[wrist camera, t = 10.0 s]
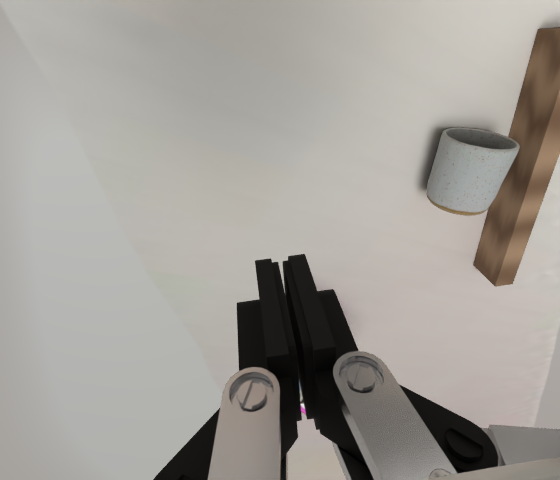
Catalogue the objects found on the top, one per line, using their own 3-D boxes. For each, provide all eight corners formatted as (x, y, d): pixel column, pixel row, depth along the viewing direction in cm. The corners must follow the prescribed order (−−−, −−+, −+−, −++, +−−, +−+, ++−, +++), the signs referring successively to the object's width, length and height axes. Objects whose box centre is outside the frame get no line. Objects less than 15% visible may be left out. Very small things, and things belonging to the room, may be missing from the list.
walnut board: (538, 29, 36) (579, 30, 32) (560, 27, 36) (604, 27, 32) (473, 265, 52) (495, 286, 48) (489, 262, 52) (512, 284, 48)
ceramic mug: (412, 192, 44) (445, 222, 38) (429, 126, 40) (469, 146, 34) (488, 190, 46) (532, 218, 39) (512, 126, 42) (566, 146, 35)
